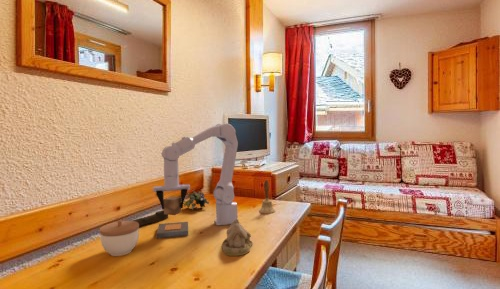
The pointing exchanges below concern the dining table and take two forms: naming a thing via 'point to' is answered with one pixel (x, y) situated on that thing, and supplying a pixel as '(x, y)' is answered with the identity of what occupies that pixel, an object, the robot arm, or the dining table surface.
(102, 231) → the lidded bowl
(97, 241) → the dining table surface
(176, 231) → the grey square picture frame
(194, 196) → the green leafy plant
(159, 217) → the hand tool
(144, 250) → the dining table surface
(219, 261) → the dining table surface
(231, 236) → the ceramic model
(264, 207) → the hand bell
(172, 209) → the taupe wooden cube
